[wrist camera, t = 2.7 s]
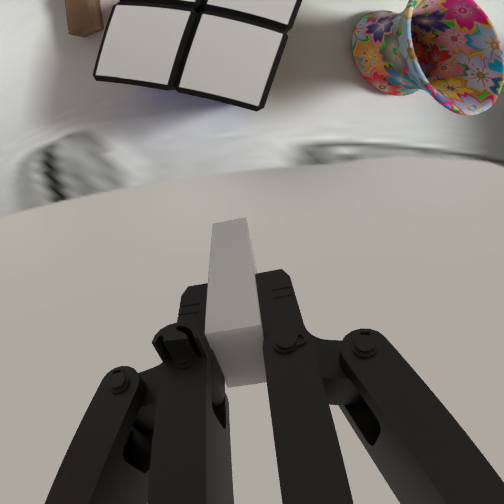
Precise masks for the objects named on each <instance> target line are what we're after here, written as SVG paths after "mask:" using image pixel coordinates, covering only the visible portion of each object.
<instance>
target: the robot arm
mask: <svg viewBox="0 0 504 504" xmlns="http://www.w3.org/2000/svg"><path fill="white" fill-rule="evenodd" d="M178 315H179V317H178V320H177V323H174V324H170V325H168V326H166V327H164V328H163V329H161V330H160V331H159V332H158V333H157V334H156V335H155V336H154V339H153V341H152V344H153V346H154V347H155V349H156V351H157V352H158V354H159V356H160V358H161V359H162V361H163V363H161V364H160V365H158V366H156V367H154V368H151V369H149V370H146V371H143V372H141V373H137V372H136V370H135V369H134V368H131V367H129V366H121V367H117V368H114V369H113V370H111V371H110V372H109V373H107V374H106V376H105V377H104V378H103V380H102V382H101V384H100V385H99V387H98V389H97V391H96V393H95V395H94V397H93V399H92V401H91V403H90V405H89V407H88V409H87V411H86V413H85V415H84V417H83V419H82V421H81V423H80V425H79V427H78V429H77V431H76V433H75V435H74V437H73V440H72V442H71V444H70V446H69V449H68V450H67V453H66V455H65V457H64V459H63V461H62V464H61V466H60V468H59V471H58V473H57V475H56V477H55V480H54V482H53V485H52V487H51V489H50V492H49V494H48V497H47V500H46V502H45V504H234V497H233V482H232V465H231V446H230V424H229V402H228V398H227V396H226V393H225V382H226V385H227V386H228V387H235V386H243V385H250V384H257V383H263V382H267V387H268V395H269V402H270V410H271V418H272V426H273V433H274V441H275V449H276V457H277V464H278V472H279V480H280V487H281V495H282V503H283V504H353V500H352V495H351V491H350V487H349V483H348V478H347V474H346V470H345V466H344V462H343V458H342V454H341V450H340V446H339V442H338V438H337V434H336V430H335V426H334V422H333V419H332V414H331V411H330V407H329V404H331V405H339V407H340V409H341V410H342V412H343V413H344V415H345V416H346V418H347V420H348V421H349V423H350V425H351V426H352V428H353V429H354V431H355V433H356V434H357V436H358V437H359V439H360V440H361V442H362V444H363V445H364V447H365V448H366V450H367V452H368V453H369V455H370V456H371V458H372V459H373V461H374V463H375V464H376V466H377V467H378V469H379V471H380V472H381V474H382V475H383V477H384V479H385V480H386V482H387V483H388V485H389V486H390V488H391V490H392V491H393V493H394V494H395V496H396V497H397V499H398V501H399V502H400V504H504V482H503V481H502V480H501V478H500V477H499V476H498V474H497V473H496V472H495V470H494V469H493V467H492V466H491V465H490V463H489V462H488V461H487V459H486V458H485V457H484V456H483V454H482V453H481V452H480V450H479V449H478V448H477V446H476V445H475V444H474V443H473V441H472V440H471V439H470V438H469V436H468V435H467V434H466V432H465V431H464V430H463V429H462V427H461V426H460V425H459V424H458V423H457V421H456V420H455V419H454V417H453V416H452V415H451V414H450V413H449V411H448V410H447V409H446V408H445V407H444V405H443V404H442V403H441V402H440V401H439V399H438V398H437V397H436V396H435V394H434V393H433V392H432V391H431V390H430V388H429V387H428V386H427V385H426V384H425V383H424V381H423V380H422V379H421V378H420V377H419V376H418V374H417V373H416V372H415V371H414V370H413V368H412V367H411V366H410V365H409V364H408V363H407V362H406V361H405V359H404V358H403V357H402V356H401V355H400V353H399V352H398V351H397V350H396V349H395V348H394V347H393V345H392V344H391V343H390V342H389V341H388V340H387V339H386V338H385V337H384V336H383V335H382V334H381V333H379V332H378V331H375V330H372V329H358V330H354V331H352V332H350V333H349V334H347V335H346V336H345V337H344V339H343V340H342V341H337V340H324V339H320V338H317V337H315V336H313V335H311V334H310V333H309V332H308V331H307V330H306V328H305V326H304V324H303V320H302V316H301V313H300V309H299V306H298V303H297V299H296V296H295V293H294V289H293V286H292V282H291V279H290V276H289V275H288V274H287V273H285V272H284V271H283V270H282V269H279V270H274V271H269V272H263V273H257V271H256V265H255V260H254V255H253V250H252V245H251V240H250V235H249V230H248V225H247V220H246V218H241V219H235V220H231V221H226V222H220V223H215V224H213V228H212V239H211V252H210V263H209V276H208V283H207V284H201V285H195V286H189V287H188V288H187V289H186V290H185V292H184V293H183V295H182V296H181V302H180V309H179V314H178Z"/></svg>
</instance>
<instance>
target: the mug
mask: <svg viewBox="0 0 504 504" xmlns="http://www.w3.org/2000/svg"><path fill="white" fill-rule="evenodd" d="M352 53H353V57H354V60H355V62H356V65H357V67H358V69H359V70H360V72H361V73H362V75H363V76H364V77H365V78H366V79H367V81H368V82H370V83H371V84H372V85H373V86H374V87H376V88H377V89H379V90H381V91H383V92H385V93H387V94H391V95H396V96H404V95H409V94H412V93H414V92H416V91H418V90H419V89H423V90H425V91H427V92H429V93H430V95H431V96H432V97H433V98H434V99H435V100H436V101H438V102H439V103H440V104H441V105H443V106H444V107H445V108H447V109H449V110H450V111H452V112H455V113H458V114H461V115H468V116H471V115H477V114H480V113H483V112H485V111H486V110H488V109H489V108H490V107H491V106H492V105H493V104H494V103H495V101H496V100H497V98H498V96H499V94H500V91H501V89H502V87H504V57H503V52H502V47H501V44H500V41H499V38H498V35H497V33H496V31H495V29H494V27H493V25H492V23H491V22H490V20H489V18H488V17H487V16H486V14H485V13H484V12H483V10H482V9H481V8H480V7H479V6H478V5H477V4H476V3H475V2H474V1H473V0H409V2H408V4H407V6H406V9H405V10H404V11H403V12H401V13H399V14H398V13H395V12H392V11H374V12H371V13H369V14H367V15H365V16H364V17H363V18H362V19H361V20H360V21H359V22H358V23H357V25H356V27H355V29H354V31H353V35H352Z"/></svg>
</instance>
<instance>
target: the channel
mask: <svg viewBox="0 0 504 504" xmlns="http://www.w3.org/2000/svg"><path fill="white" fill-rule="evenodd" d="M65 5H66V14H67V22H68V30H69V34H71V35H76V36H80V37H87V36H89V35H91V34H93V33H96V32H98V31H100V30H102V29H104V28H103V21H102V15H101V8H100V1H99V0H65Z"/></svg>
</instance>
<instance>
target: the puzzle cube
mask: <svg viewBox="0 0 504 504" xmlns="http://www.w3.org/2000/svg"><path fill="white" fill-rule="evenodd" d="M301 2H302V0H120V2H118V3H117V4H116V5H114V6H113V8H112V11H111V14H110V17H109V19H108V22H107V26H106V29H105V32H104V35H103V38H102V42H101V45H100V49H99V52H98V56H97V60H96V64H95V68H94V72H93V76H94V78H95V79H96V81H105V82H115V83H123V84H131V85H138V86H144V87H151V88H157V89H163V90H177V91H178V92H179V93H184V94H189V95H193V96H198V97H202V98H207V99H211V100H215V101H219V102H223V103H227V104H231V105H235V106H239V107H242V108H246V109H250V110H253V111H258V110H260V109H262V108H264V106H265V103H266V100H267V97H268V94H269V91H270V88H271V85H272V82H273V79H274V76H275V73H276V71H277V68H278V65H279V62H280V59H281V56H282V53H283V51H284V48H285V45H286V42H287V39H288V36H287V34H286V33H287V32H288V31H289V30H290V29H291V28H292V26H293V24H294V21H295V18H296V15H297V13H298V10H299V7H300V5H301Z"/></svg>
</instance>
